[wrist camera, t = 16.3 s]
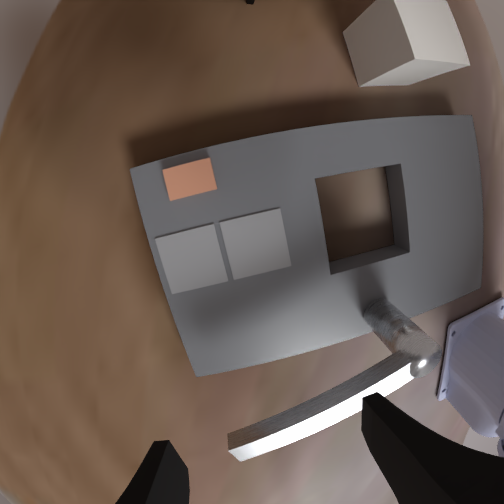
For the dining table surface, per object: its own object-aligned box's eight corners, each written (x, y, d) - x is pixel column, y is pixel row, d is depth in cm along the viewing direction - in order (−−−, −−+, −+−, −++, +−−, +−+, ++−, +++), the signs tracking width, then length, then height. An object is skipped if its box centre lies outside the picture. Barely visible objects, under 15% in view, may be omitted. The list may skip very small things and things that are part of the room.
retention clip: (387, 292, 18) (439, 336, 12) (394, 316, 18) (443, 363, 13) (221, 378, 18) (224, 446, 13) (237, 397, 19) (243, 464, 13)
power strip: (465, 279, 21) (485, 290, 18) (198, 359, 20) (195, 382, 18) (454, 117, 17) (477, 114, 15) (139, 168, 17) (126, 168, 14)
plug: (408, 85, 17) (470, 65, 10) (358, 86, 16) (415, 59, 10) (392, 34, 16) (446, 0, 9) (342, 32, 15) (388, -12, 9)
